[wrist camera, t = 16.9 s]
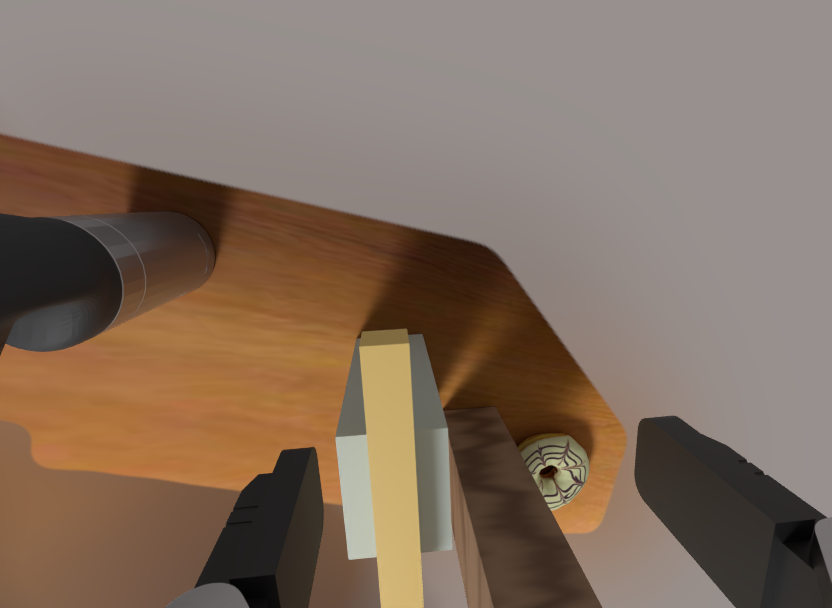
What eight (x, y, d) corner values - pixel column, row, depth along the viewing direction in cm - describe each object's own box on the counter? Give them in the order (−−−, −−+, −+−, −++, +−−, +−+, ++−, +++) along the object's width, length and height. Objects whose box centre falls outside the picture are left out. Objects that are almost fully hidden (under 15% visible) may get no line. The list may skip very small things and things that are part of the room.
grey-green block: (363, 416, 54) (348, 559, 32) (356, 338, 51) (335, 437, 30) (426, 411, 54) (452, 549, 33) (422, 333, 52) (447, 428, 30)
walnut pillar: (444, 491, 57) (524, 888, 24) (441, 410, 54) (527, 737, 21) (495, 486, 57) (643, 871, 24) (495, 406, 55) (662, 720, 22)
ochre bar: (382, 581, 33) (382, 618, 30) (362, 331, 28) (358, 346, 25) (420, 577, 33) (424, 613, 30) (406, 328, 28) (409, 343, 25)
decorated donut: (591, 475, 58) (605, 493, 55) (520, 507, 59) (529, 527, 55) (565, 414, 56) (578, 429, 52) (492, 448, 56) (499, 465, 53)
